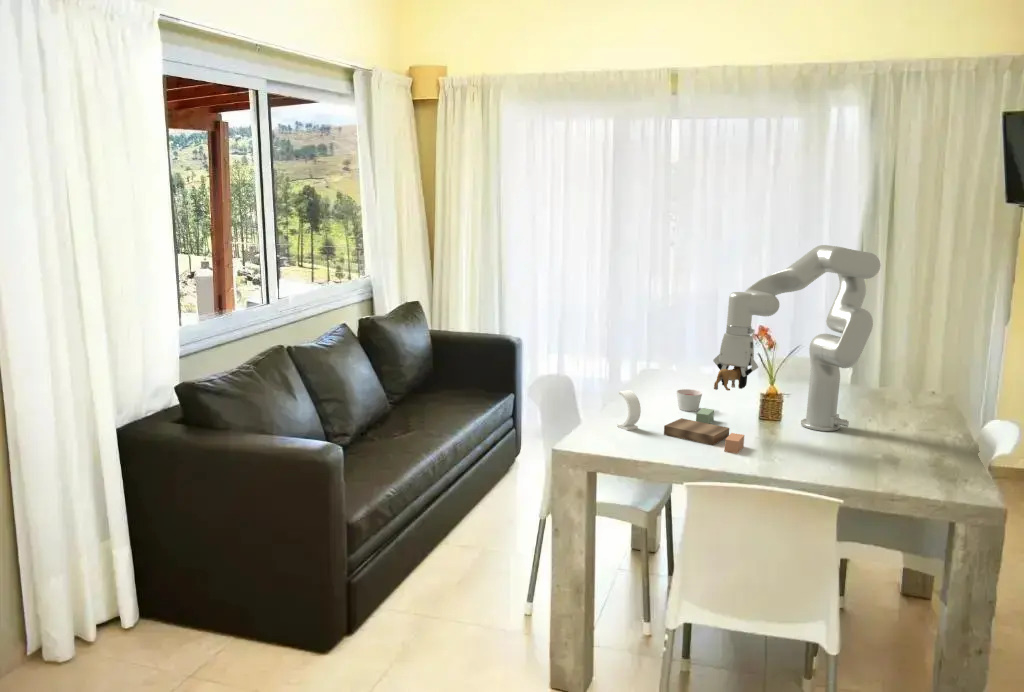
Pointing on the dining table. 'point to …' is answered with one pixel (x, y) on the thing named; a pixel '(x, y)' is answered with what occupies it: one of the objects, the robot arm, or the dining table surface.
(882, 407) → the dining table surface
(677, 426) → the walnut plinth
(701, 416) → the sage brick
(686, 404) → the candle
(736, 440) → the terracotta brick
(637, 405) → the white crescent moon figurine
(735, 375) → the lion figurine
